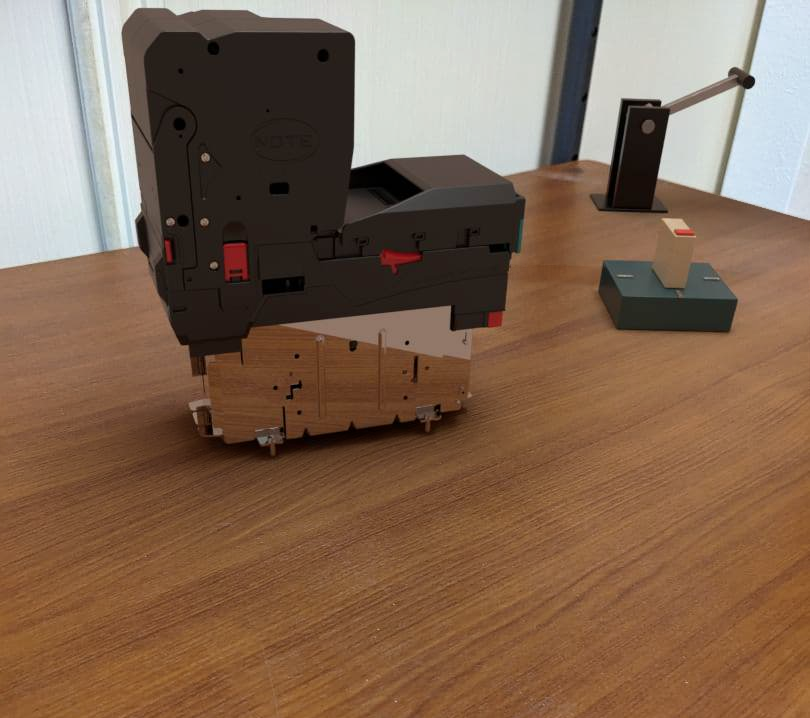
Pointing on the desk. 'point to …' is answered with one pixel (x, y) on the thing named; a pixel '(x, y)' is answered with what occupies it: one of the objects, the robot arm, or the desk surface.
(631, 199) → the lever bracket
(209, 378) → the bill acceptor
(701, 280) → the dial panel
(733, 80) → the lever handle
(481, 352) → the desk surface
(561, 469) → the desk surface
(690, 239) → the tan upright slab
